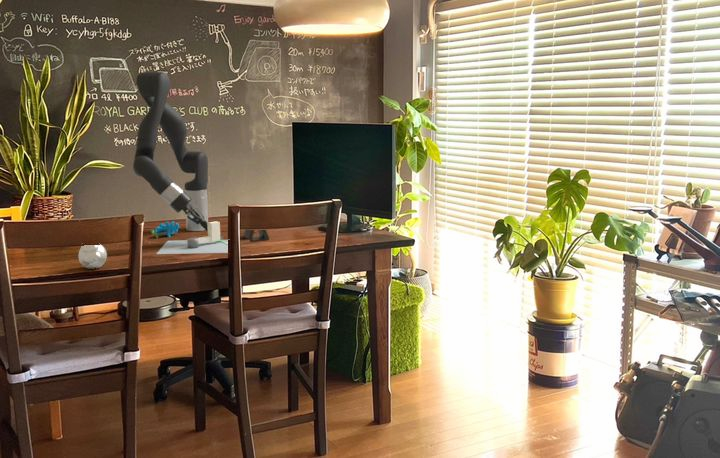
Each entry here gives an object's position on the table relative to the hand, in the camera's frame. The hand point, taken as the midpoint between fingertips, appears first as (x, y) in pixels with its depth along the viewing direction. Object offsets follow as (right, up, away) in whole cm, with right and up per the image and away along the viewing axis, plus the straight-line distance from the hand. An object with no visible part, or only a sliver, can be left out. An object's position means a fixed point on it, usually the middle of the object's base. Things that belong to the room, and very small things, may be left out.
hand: (209, 229), depth 272 cm
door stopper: (+16, -4, +13) cm, 21 cm away
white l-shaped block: (-1, -6, -3) cm, 7 cm away
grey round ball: (-31, -13, -36) cm, 49 cm away
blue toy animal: (-20, -4, +14) cm, 25 cm away
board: (-3, -7, -6) cm, 10 cm away
